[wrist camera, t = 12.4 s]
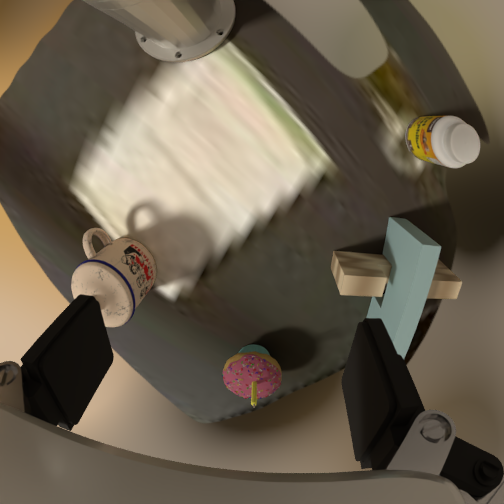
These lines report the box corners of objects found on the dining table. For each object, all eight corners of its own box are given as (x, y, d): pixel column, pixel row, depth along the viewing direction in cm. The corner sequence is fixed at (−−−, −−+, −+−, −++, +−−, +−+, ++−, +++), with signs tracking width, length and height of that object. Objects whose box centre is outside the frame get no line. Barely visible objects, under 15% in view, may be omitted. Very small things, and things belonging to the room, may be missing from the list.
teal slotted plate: (389, 216, 36) (422, 244, 26) (405, 218, 35) (441, 246, 26) (365, 323, 42) (382, 369, 32) (379, 323, 41) (399, 368, 32)
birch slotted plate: (330, 268, 39) (340, 294, 32) (333, 250, 38) (344, 275, 31) (434, 274, 38) (456, 298, 31) (438, 259, 37) (462, 281, 31)
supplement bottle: (410, 109, 30) (452, 104, 21) (444, 128, 30) (491, 131, 21) (397, 149, 32) (437, 157, 23) (432, 167, 33) (477, 180, 23)
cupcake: (237, 327, 43) (225, 387, 32) (291, 344, 44) (294, 405, 33) (220, 365, 46) (207, 423, 35) (269, 381, 47) (266, 439, 36)
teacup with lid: (169, 286, 42) (137, 335, 31) (119, 299, 43) (83, 344, 33) (135, 207, 38) (87, 236, 27) (86, 227, 39) (36, 259, 29)
